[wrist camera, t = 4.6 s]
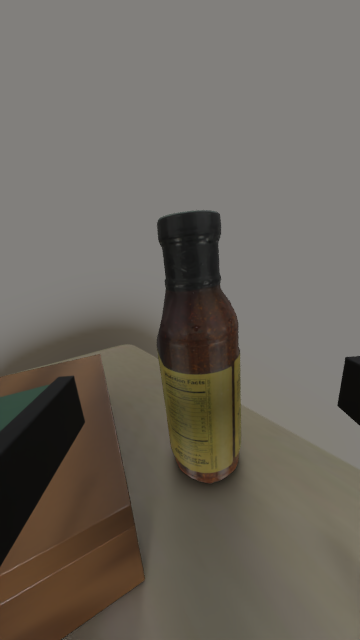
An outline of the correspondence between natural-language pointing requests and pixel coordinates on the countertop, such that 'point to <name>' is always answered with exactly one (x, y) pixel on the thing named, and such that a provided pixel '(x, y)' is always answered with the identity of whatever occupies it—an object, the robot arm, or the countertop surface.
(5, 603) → the brown wooden box
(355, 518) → the countertop surface
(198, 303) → the sauce bottle
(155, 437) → the countertop surface
